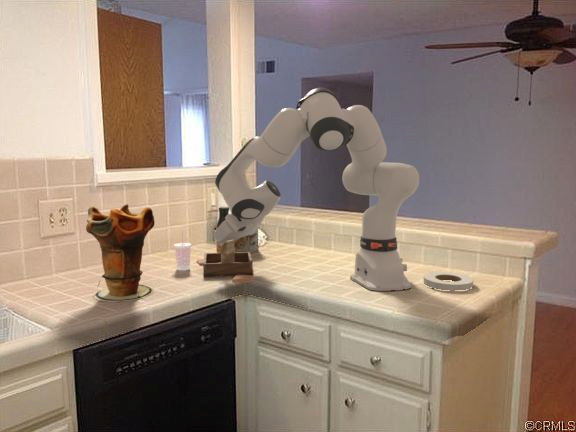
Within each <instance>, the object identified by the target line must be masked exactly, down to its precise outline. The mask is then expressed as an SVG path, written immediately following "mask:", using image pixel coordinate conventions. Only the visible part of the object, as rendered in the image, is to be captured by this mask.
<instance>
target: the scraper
mask: <svg viewBox="0 0 576 432" xmlns="http://www.w3.org/2000/svg"><path fill="white" fill-rule="evenodd" d="M225 243H226V244H225V245H224V246H221V262H219V263H234V262H235V243H234V240H229V241H226V242H225Z"/></svg>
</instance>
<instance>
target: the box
mask: <svg viewBox="0 0 576 432" xmlns="http://www.w3.org/2000/svg"><path fill="white" fill-rule="evenodd" d="M203 259H204V262H203V265H202V267H203V269H202V270H203V277H204V278H210V277H232V276H233V277H235V275H253V273H254V271H253V270H254V269H253V268H254V266H253V260H252V255H251V253H250V252H241V251H236V252H235V262H234V263H219V262H221V253H217V252H205V253H204V257H203Z"/></svg>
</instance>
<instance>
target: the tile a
mask: <svg viewBox="0 0 576 432" xmlns="http://www.w3.org/2000/svg"><path fill="white" fill-rule="evenodd" d="M196 262H197V264H198V265H199V266H203V262H204V258H199V259H197V260H196Z"/></svg>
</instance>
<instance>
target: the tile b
mask: <svg viewBox="0 0 576 432" xmlns="http://www.w3.org/2000/svg"><path fill="white" fill-rule="evenodd" d="M254 279H255V275H236V276H233V278H232V283H246V284H251V282H252V281H253V280H254Z"/></svg>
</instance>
